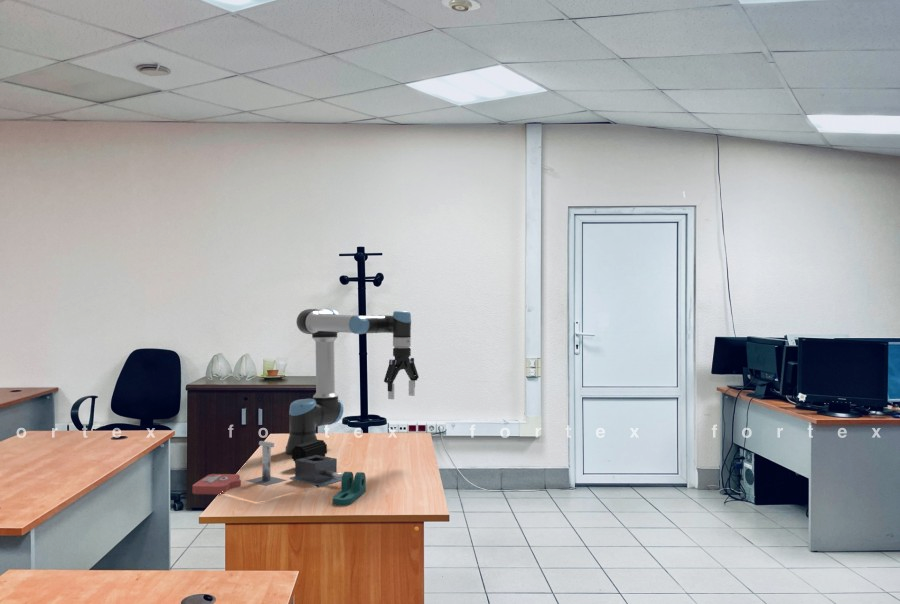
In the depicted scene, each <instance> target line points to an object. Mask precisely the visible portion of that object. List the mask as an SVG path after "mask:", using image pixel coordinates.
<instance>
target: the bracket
mask: <svg viewBox="0 0 900 604" xmlns="http://www.w3.org/2000/svg"><path fill="white" fill-rule="evenodd" d="M342 474H343V476H342V481H340V482H341V483H340V484H341V486H340V489H341V490H340V491H338V492H337V493H335V494H334V496H333V497H332V504H333V505H334V506H341V507H342V506H343V507H344V506H349V505H350V506H351V505H352V504H354V503H355V502H356V501H357V500H358V499H359V498H360V497H361V496H362V495H364V494H365V493H366V491H367V490H366V484H367V483H366V481H367V479H366V478H367V477H366V473H365V472H362V471H361V472H360V471H358V472H355V474H354V473H353V471H344V472H343V473H342Z"/></svg>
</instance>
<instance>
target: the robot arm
mask: <svg viewBox="0 0 900 604" xmlns="http://www.w3.org/2000/svg"><path fill="white" fill-rule="evenodd" d="M296 326H297V329H298V330H299V331H300V332H301V333H303V334H306V335H312V336H311V339H313V340H314V342H315V391H316V392H315V393H314V394H313V396H312V398H302V399H301V398H300V399H296V400H294V401H292V402H290V405H289V411H288V415H289V433H288V435H289V437H288V439H287V444H286V446H285V447H284V448H285V449H284V450H285V454H286V455H289V456H292V449H293V448H294V447H295V446H296V445H299V444H303V443H306V442H310V441H313V440H318V437H317V434H316V432H317V429H316V428H317V427H321V426H330V425H333V424H336V423H338V422H340V420H341V419H342V417H343V415H344V405H343V403H342V400H341V399H340V398H339V395H338V393H336V392H335V391H336V390H335V389H336V388H335V387H336V384H335V383H336V381H335V340H337V339H338V333H350V334H355V335H364V334H385V333H387V334H390V333H392V346H393V348H392V357H394V359H389V360H388V361H389V362H388V365H387V366H388V367H387V370H386V373H385V376H384V379H383V382H384V383H385V384H387V396H388V397H387V399H388V400H395V383H394V381H395V380H396V378H397V377H398V373H400V371H402V370H404V372H405V373H406V375H407V376H408V378H409V380H408V396H411V397H414V396H415V393H416V392H415V391H416V389H415V388H416V381H418V379H419V373H418V371H417V367H416V364H415V358H414V357H411V354H412V353H411V352H412V351H411V350H412V349H411V343H412V342H411V341H412V339H411V337H412V336H411V335H412V334H411V331H412V315H411V312H410V311H407V310H395V311H393V314H392V315H386V314H385V315H384V314H379V315H377V314H376V315H357V314H356V315H355V314H353V315H351V314H340V313H339V312H338V311H337V310H336V309H332V308H309V309H307V308H306V309H304V310H302V311H300V313H299V314H298V316H297V318H296Z"/></svg>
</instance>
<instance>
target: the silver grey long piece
mask: <svg viewBox="0 0 900 604" xmlns="http://www.w3.org/2000/svg"><path fill="white" fill-rule="evenodd" d="M258 446H261V447H262V452H261V453H262V457H261V458H262V461H261V463H262V465H261V471H262V473H261V474H262V475H261V477H262V481H270V478H271V477H272V476H271V475H272V474H271V472H272V471H271V467H272V466H271V465H272V463H271V460H272V457H271V454H272V453H271V451H272V450H271V449H272V448H274V447H275V443H274V442H271V441H270V442H269V441H266V440H259V441H258Z"/></svg>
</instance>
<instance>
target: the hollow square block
mask: <svg viewBox="0 0 900 604" xmlns="http://www.w3.org/2000/svg"><path fill="white" fill-rule="evenodd" d="M337 464H338V459H337V458H335V457H330V456H326V455H325V456H320V455H314V456H310V457H306V458H301V459H297V460H295V461H294V476H292V477H289V480H293V481H298V482H303V483H306V484H310V485H314V487H318V488H320V487H323V486H326V485H327V486H328V485H330V484H331V485H332V484H333V483H338V482H341V481H342V476H343V473H339V472H338V471H337V470H338V469H337V466H338V465H337Z"/></svg>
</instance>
